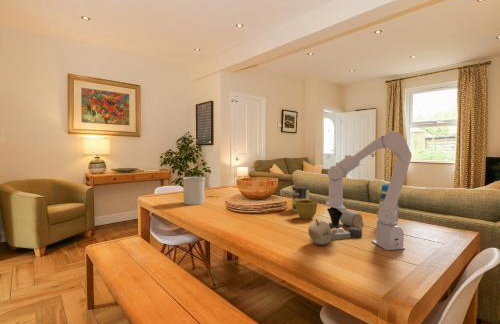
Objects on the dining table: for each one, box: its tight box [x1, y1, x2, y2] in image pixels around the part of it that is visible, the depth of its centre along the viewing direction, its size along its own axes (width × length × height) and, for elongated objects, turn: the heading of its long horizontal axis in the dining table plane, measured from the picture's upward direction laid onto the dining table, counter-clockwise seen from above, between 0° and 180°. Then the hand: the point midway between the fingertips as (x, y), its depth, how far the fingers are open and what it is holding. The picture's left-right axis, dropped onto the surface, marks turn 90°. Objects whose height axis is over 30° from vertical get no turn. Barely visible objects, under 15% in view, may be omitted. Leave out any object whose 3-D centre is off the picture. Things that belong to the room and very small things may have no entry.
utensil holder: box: [182, 176, 206, 206], centre depth 186 cm, size 15×15×18 cm
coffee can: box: [291, 185, 310, 212], centre depth 166 cm, size 10×10×14 cm
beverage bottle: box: [379, 183, 400, 223], centre depth 131 cm, size 8×8×20 cm
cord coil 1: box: [328, 222, 342, 229], centre depth 125 cm, size 6×6×3 cm
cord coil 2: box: [347, 226, 363, 239], centre depth 118 cm, size 6×6×3 cm
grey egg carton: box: [330, 227, 351, 241], centre depth 117 cm, size 7×10×4 cm
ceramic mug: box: [339, 208, 364, 228], centre depth 132 cm, size 11×8×8 cm
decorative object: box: [307, 219, 331, 246], centre depth 107 cm, size 9×9×10 cm
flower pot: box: [295, 199, 318, 220], centre depth 147 cm, size 9×9×9 cm
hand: (335, 225), depth 116 cm, fingers closed
